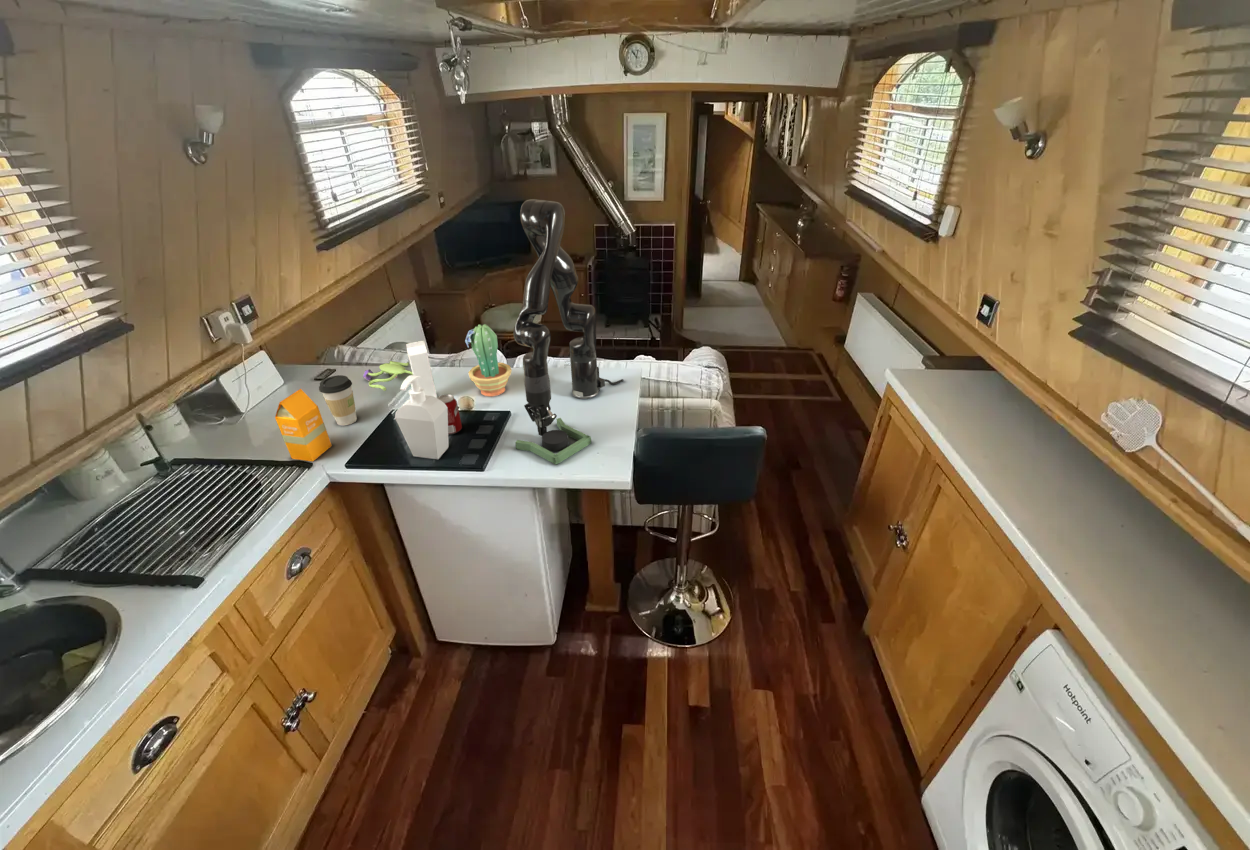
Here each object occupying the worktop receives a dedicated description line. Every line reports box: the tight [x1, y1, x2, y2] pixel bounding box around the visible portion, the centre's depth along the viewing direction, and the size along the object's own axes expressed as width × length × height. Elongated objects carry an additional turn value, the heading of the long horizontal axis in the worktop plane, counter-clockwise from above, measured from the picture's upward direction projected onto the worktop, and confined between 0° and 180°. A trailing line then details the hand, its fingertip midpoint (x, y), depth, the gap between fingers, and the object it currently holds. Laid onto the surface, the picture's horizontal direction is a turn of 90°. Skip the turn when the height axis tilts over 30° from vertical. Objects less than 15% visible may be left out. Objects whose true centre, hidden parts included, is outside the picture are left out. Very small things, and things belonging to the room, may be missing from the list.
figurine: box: [362, 360, 413, 392], centre depth 210 cm, size 18×27×6 cm
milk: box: [405, 340, 438, 398], centre depth 193 cm, size 6×6×22 cm
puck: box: [541, 429, 569, 453], centre depth 171 cm, size 8×8×3 cm
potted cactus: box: [464, 323, 512, 397], centre depth 197 cm, size 15×15×25 cm
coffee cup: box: [318, 374, 358, 426], centre depth 183 cm, size 10×10×15 cm
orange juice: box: [274, 388, 332, 462], centre depth 166 cm, size 8×9×20 cm
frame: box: [515, 417, 592, 466], centre depth 172 cm, size 19×16×2 cm
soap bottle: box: [394, 374, 449, 460], centre depth 163 cm, size 12×10×26 cm
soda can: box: [437, 393, 463, 436], centre depth 177 cm, size 7×7×12 cm
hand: (542, 434), depth 175 cm, fingers closed
